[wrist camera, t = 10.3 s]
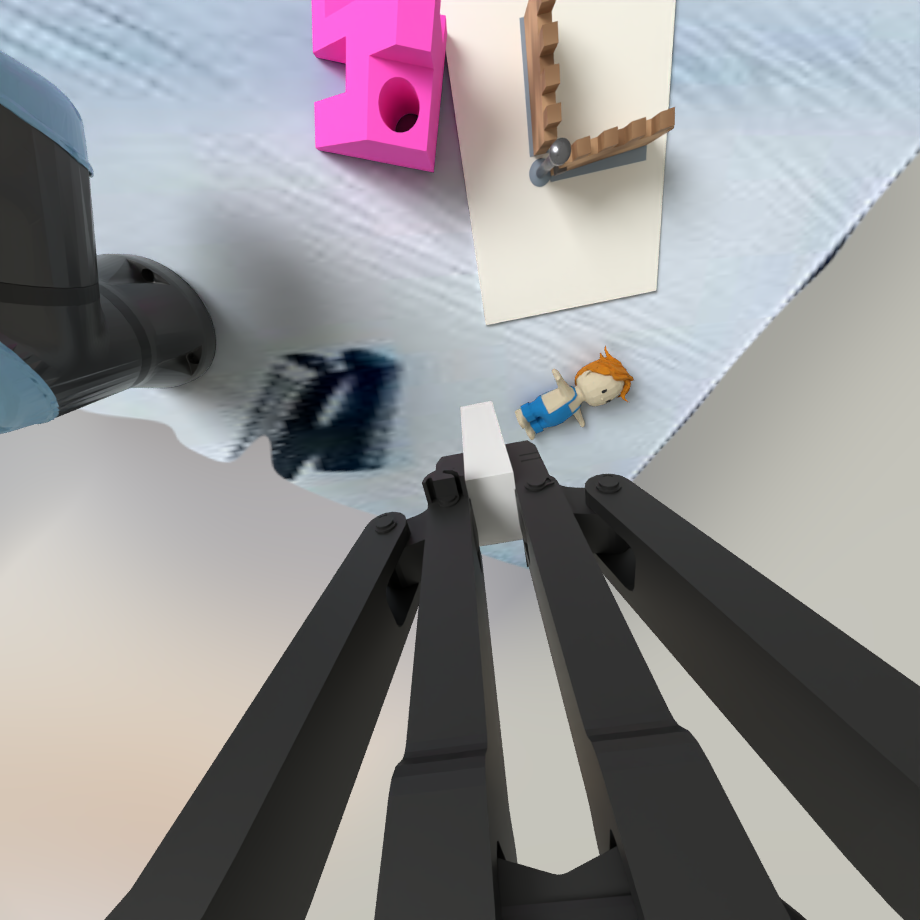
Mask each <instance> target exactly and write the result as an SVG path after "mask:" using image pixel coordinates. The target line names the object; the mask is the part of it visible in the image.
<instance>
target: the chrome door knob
mask: <svg viewBox="0 0 920 920" xmlns="http://www.w3.org/2000/svg"><path fill="white" fill-rule="evenodd" d="M570 155H571V144H570V142H569V141H568V140H567V139H566V138H558V139H557V140H555V141H554V143H553V144H552V145H551V147H550V150H549V156H548V157H547V158H546V159H545V161H544V162H543V163H542V164H541V165H540V166H539V167H538V169H537V170H536V176H537V177H538V178H540V179H541V178H543V177H544V176H545V175H546V174H547V173H548V172H549V171H550V170H551V169H552V168H553V167H554V166H561V165H563V164H564V163H565V162H566V161H567V160H568V159H569V157H570Z"/></svg>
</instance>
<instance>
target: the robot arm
mask: <svg viewBox="0 0 920 920" xmlns="http://www.w3.org/2000/svg"><path fill="white" fill-rule="evenodd" d="M93 175H94V174H93V169H92V167H91V165H90V164H89V162H88V155H87V148H86V140H85V133H84V126H83V122H82V119H81V117H80V114H79V112H78V111H77V109H76V108H75V107H74V105H73V104H72V103H71V101H70V100H69V99H68V98H67V96H66V95H64V94H63V93H62V92H61V91H60V90H59V89H58V88H57V87H56V86H55V85H53V84H52V83H51V82H49V81H48V80H47V79H45V78H44V77H42V76H41V75H39V74H38V73H36V72H35V71H33V70H32V69H30V68H28V67H27V66H25V65H24V64H22V63H20V62H19V61H17V60H15V59H14V58H12V57H10V56H9V55H7V54H5V53H4V52H2V51H0V434H2V433H7V432H11V431H14V430H17V429H20V428H23V427H27V426H30V425H34V424H41V423H46V422H49V421H51V420H54V418H56V417H59V416H61V415H64V414H66V413H69V412H71V411H74V410H76V409H79V408H81V407H84V406H86V405H89V404H91V403H94V402H96V401H99V400H101V399H104V398H106V397H109V396H111V395H114V394H116V393H119V392H121V391H124V390H126V389H129V388H170V387H176V386H180V385H183V384H185V383H187V382H190V381H192V380H194V379H196V378H198V377H199V376H201V375H202V374H203V373H204V372H205V371H206V370H207V369H208V368H209V366H210V364H211V362H212V360H213V357H214V354H215V346H216V340H215V332H214V328H213V324H212V321H211V318H210V316H209V314H208V312H207V310H206V308H205V306H204V304H203V303H202V301H201V300H200V298H199V297H198V296H197V294H196V293H195V292H194V291H193V289H192V288H191V287H190V286H189V285H188V284H187V283H186V282H185V281H184V280H183V279H181V278H180V277H179V276H178V275H177V274H175V273H174V272H173V271H171V270H170V269H168V268H166V267H165V266H163V265H161V264H159V263H157V262H155V261H153V260H150V259H148V258H144V257H141V256H136V255H128V254H103V255H97V256H96V245H95V234H94V222H93V211H92V200H91V189H90V178H89V177H93ZM460 409H461V425H462V440H463V453H461V454H456V455H450V456H445V457H441V459H440V460H439V461H438V463H437V464H436V471H434V472H432V473H430V474H428V475H427V476H426V477H425V478H424V480H423V482H422V485H423V488H424V492H425V495H426V498H427V502H428V509H427V510H426V511H424V512H423V513H421V514H419V515H417V516H415V517H412V518H410V519H407V520H406V517H405V515H403V514H401V513H398V512H389V513H385V514H382V515H379V516H377V517H376V518H374V519H373V520H371V521H370V522H369V524H368V525H367V526H366V527H365V529H364V531H363V532H362V534H361V535H360V537H359V538H358V540H357V541H356V543H355V544H354V546H353V547H352V549H351V551H350V552H349V554H348V555H347V557H346V558H345V560H344V562H343V563H342V564H341V566H340V568H339V569H338V571H337V572H336V574H335V575H334V577H333V579H332V580H331V582H330V583H329V585H328V586H327V588H326V589H325V591H324V592H323V594H322V595H321V597H320V599H319V600H318V601H317V603H316V605H315V606H314V608H313V609H312V611H311V612H310V614H309V615H308V617H307V619H306V620H305V622H304V623H303V625H302V626H301V628H300V629H299V631H298V632H297V634H296V635H295V637H294V638H293V640H292V642H291V643H290V645H289V646H288V648H287V650H286V651H285V652H284V654H283V656H282V657H281V659H280V660H279V662H278V663H277V665H276V666H275V668H274V669H273V671H272V673H271V674H270V676H269V677H268V679H267V680H266V682H265V683H264V685H263V686H262V688H261V689H260V691H259V692H258V694H257V696H256V697H255V699H254V700H253V702H252V703H251V705H250V706H249V708H248V710H247V711H246V713H245V714H244V716H243V717H242V719H241V720H240V722H239V723H238V725H237V727H236V728H235V730H234V731H233V733H232V734H231V736H230V737H229V739H228V740H227V742H226V743H225V745H224V747H223V748H222V750H221V751H220V753H219V754H218V756H217V758H216V759H215V760H214V762H213V763H212V765H211V767H210V768H209V770H208V771H207V773H206V774H205V776H204V777H203V779H202V781H201V782H200V784H199V785H198V787H197V788H196V790H195V791H194V793H193V794H192V796H191V798H190V799H189V801H188V802H187V804H186V805H185V807H184V808H183V810H182V811H181V813H180V814H179V816H178V817H177V819H176V821H175V822H174V824H173V825H172V827H171V828H170V830H169V831H168V833H167V834H166V836H165V838H164V839H163V841H162V842H161V844H160V845H159V847H158V848H157V850H156V851H155V853H154V855H153V856H152V858H151V859H150V861H149V862H148V864H147V866H146V867H145V868H144V870H143V872H142V873H141V875H140V876H139V878H138V879H137V881H136V882H135V884H134V885H133V887H132V888H131V890H130V891H129V892H128V893H127V895H126V896H125V897H124V898H123V899H122V900H121V902H120V903H119V904H118V905H117V906H116V907H115V908H114V909H113V910H112V912H111V913H110V914H109V915H108V916H107V917H106V919H105V920H305V918H306V915H307V912H308V910H309V908H310V905H311V902H312V899H313V897H314V893H315V891H316V888H317V885H318V883H319V880H320V877H321V874H322V872H323V869H324V866H325V863H326V861H327V858H328V855H329V852H330V850H331V847H332V844H333V841H334V838H335V836H336V833H337V830H338V827H339V824H340V822H341V819H342V816H343V813H344V811H345V808H346V805H347V802H348V799H349V797H350V794H351V791H352V788H353V786H354V783H355V780H356V778H357V775H358V772H359V769H360V766H361V764H362V761H363V758H364V755H365V753H366V750H367V747H368V744H369V742H370V739H371V736H372V733H373V731H374V728H375V725H376V722H377V719H378V717H379V714H380V711H381V708H382V706H383V703H384V700H385V697H386V695H387V692H388V689H389V686H390V683H391V680H392V678H393V675H394V672H395V670H396V666H397V664H398V661H399V658H400V656H401V653H402V650H403V647H404V644H405V642H406V639H407V636H408V634H409V631H410V628H411V625H412V623H413V620H414V617H415V614H416V611H417V609H418V606H419V610H418V620H417V632H416V642H415V653H414V664H413V675H412V685H411V696H410V707H409V719H408V730H407V740H406V748H405V754H404V757H403V759H402V760H401V762H400V763H398V765H397V766H396V767H395V770H394V773H393V776H392V779H391V785H390V791H389V797H388V806H387V815H386V823H385V832H384V841H383V849H382V858H381V866H380V875H379V884H378V892H377V901H376V909H375V919H374V920H806V919H805V918H804V917H803V916H802V915H801V914H800V913H798V912H797V911H796V910H795V909H793V908H792V907H791V906H790V905H788V904H787V903H786V902H785V901H783V900H782V899H781V898H780V897H779V895H778V894H777V892H776V890H775V888H774V886H773V884H772V882H771V880H770V878H769V876H768V875H767V872H766V871H765V869H764V867H763V865H762V863H761V861H760V859H759V857H758V855H757V853H756V851H755V849H754V847H753V845H752V843H751V841H750V840H749V838H748V836H747V834H746V832H745V830H744V828H743V826H742V824H741V822H740V820H739V818H738V816H737V814H736V812H735V811H734V809H733V807H732V805H731V803H730V801H729V799H728V797H727V795H726V793H725V791H724V789H723V788H722V785H721V783H720V781H719V780H718V778H717V776H716V774H715V772H714V770H713V768H712V766H711V764H710V762H709V760H708V759H707V757H706V755H705V753H704V752H703V750H702V748H701V747H700V745H699V743H698V742H697V740H696V739H695V738H694V737H693V735H692V734H691V733H690V732H689V731H688V730H686V729H684V728H683V727H681V726H679V725H678V724H677V722H676V721H675V720H674V719H673V716H672V715H671V713H670V711H669V709H668V707H667V705H666V703H665V701H664V699H663V697H662V695H661V693H660V691H659V689H658V686H657V685H656V682H655V680H654V678H653V676H652V674H651V672H650V670H649V668H648V666H647V664H646V662H645V660H644V658H643V656H642V654H641V652H640V650H639V647H638V645H637V643H636V641H635V639H634V637H633V635H632V633H631V631H630V629H629V627H628V625H627V623H626V621H625V619H624V617H623V615H622V613H621V611H620V608H619V606H618V604H617V602H616V600H615V598H614V596H613V594H612V592H611V590H610V588H609V586H608V584H607V582H606V580H605V578H604V576H605V577H606V578H607V579H608V580H609V581H610V583H611V584H612V585H613V586H614V587H615V588H616V590H617V591H618V592H619V593H620V594H621V595H622V596H623V598H624V599H625V600H626V601H627V602H628V604H629V605H630V606H631V607H632V608H633V609H634V611H635V612H636V613H637V614H638V615H639V616H640V618H641V619H642V620H643V621H644V622H645V623H646V624H647V626H648V627H649V628H650V629H651V630H652V632H653V633H654V634H655V635H656V636H657V637H658V638H659V640H660V641H661V642H662V643H663V644H664V645H665V647H666V648H667V649H668V650H669V651H670V653H672V655H673V656H674V657H675V658H676V660H677V661H678V662H679V663H680V664H681V665H682V667H683V668H684V669H685V670H686V671H687V672H688V674H689V675H690V676H691V677H692V678H693V679H694V681H695V682H696V683H697V684H698V685H699V686H700V688H701V689H702V690H703V691H704V692H705V693H706V695H707V696H708V697H709V698H710V699H711V700H712V702H713V703H714V704H715V705H716V706H717V707H718V708H719V710H720V711H721V712H722V713H723V714H724V716H725V717H726V718H727V719H728V720H729V721H730V722H731V724H732V725H733V726H734V727H735V728H736V730H737V731H738V732H739V733H740V734H741V735H742V737H743V738H744V739H745V740H746V741H747V742H748V743H749V745H750V746H751V747H752V748H753V749H754V751H755V752H756V753H757V754H758V755H759V756H760V758H761V759H762V760H763V761H764V762H765V763H766V764H767V766H768V767H769V768H770V769H771V770H772V772H773V773H774V774H775V775H776V776H777V777H778V779H779V780H780V781H781V782H782V783H783V784H784V786H786V788H787V789H788V790H789V791H790V793H791V794H792V795H793V796H794V797H795V798H796V800H797V801H798V802H799V803H800V804H801V805H802V807H803V808H804V809H805V810H806V811H807V812H808V813H809V815H810V816H811V817H812V818H813V819H814V821H815V822H816V823H817V824H818V825H819V827H820V828H821V829H822V830H823V831H824V832H825V833H826V835H827V836H828V837H829V838H830V839H831V841H832V842H833V843H834V844H835V845H836V846H837V847H838V849H839V850H840V851H841V852H842V853H843V855H844V856H845V857H846V858H847V859H848V860H849V861H850V862H851V863H852V865H853V866H854V867H855V868H856V869H857V870H858V871H859V872H860V873H861V874H862V876H863V877H864V878H865V879H866V880H867V881H868V882H869V883H870V884H871V885H872V887H873V888H874V889H875V890H876V891H877V892H878V893H879V894H880V895H881V896H882V898H883V899H884V900H885V901H886V902H887V903H888V904H889V905H890V906H891V907H892V908H893V909H894V910H895V911H896V912H897V913H898V914H899V915H900V916H901V917H902V918H903V919H904V920H920V686H918V685H917V684H916V683H914V682H913V681H911V680H910V679H909V678H907V677H906V676H905V675H903V674H902V673H900V672H898V671H897V670H896V669H895V668H893V667H892V666H890V665H889V664H887V663H886V662H885V661H883V660H882V659H881V658H879V657H878V656H876V655H875V654H873V653H872V652H871V651H869V650H868V649H867V648H865V647H864V646H862V645H861V644H859V643H858V642H857V641H855V640H854V639H852V638H851V637H849V636H848V635H847V634H845V633H844V632H843V631H841V630H840V629H838V628H837V627H835V626H834V625H833V624H831V623H830V622H829V621H827V620H826V619H824V618H823V617H821V616H820V615H819V614H817V613H816V612H814V611H813V610H812V609H810V608H809V607H807V606H806V605H805V604H803V603H802V602H800V601H799V600H797V599H796V598H795V597H793V596H792V595H790V594H789V593H788V592H786V591H785V590H783V589H782V588H780V587H779V586H778V585H776V584H775V583H774V582H772V581H771V580H769V579H768V578H767V577H765V576H764V575H762V574H761V573H759V572H758V571H757V570H755V569H754V568H752V567H751V566H750V565H748V564H747V563H745V562H744V561H743V560H741V559H740V558H738V557H737V556H736V555H734V554H733V553H731V552H730V551H728V550H727V549H726V548H724V547H723V546H721V545H720V544H719V543H717V542H716V541H714V540H713V539H712V538H710V537H709V536H707V535H706V534H705V533H703V532H702V531H700V530H699V529H697V528H696V527H695V526H693V525H692V524H690V523H689V522H688V521H686V520H685V519H683V518H682V517H681V516H679V515H678V514H676V513H675V512H674V511H672V510H671V509H669V508H668V507H667V506H665V505H664V504H662V503H661V502H659V501H658V500H657V499H655V498H654V497H653V496H651V495H650V494H648V493H647V492H645V491H644V490H643V489H641V488H640V487H638V486H637V485H636V484H634V483H633V482H631V481H630V480H629V479H627V478H625V477H623V476H619V475H615V474H601V475H596V476H594V477H592V478H590V479H588V481H587V482H586V483H585V488H573V487H565V486H561V485H559V483H558V481H557V480H556V479H555V478H554V477H552V476H550V475H549V473H548V471H547V469H546V467H545V465H544V463H543V461H542V458H541V456H540V454H539V453H538V450H537V448H536V446H535V445H534V444H533V443H531V442H529V441H528V440H527V441H521V442H516V443H510V444H505V443H504V440H503V436H502V433H501V430H500V426H499V423H498V420H497V416H496V413H495V410H494V406H493V403H492V401H488V402H483V403H477V404H472V405H467V406H462V407H460ZM522 536H523V537H522ZM522 539H523V542H524V549H525V556H526V562H527V567H529V569H530V573H531V576H532V581H533V585H534V588H535V592H536V596H537V600H538V604H539V608H540V612H541V616H542V620H543V624H544V628H545V632H546V636H547V640H548V644H549V647H550V652H551V656H552V659H553V663H554V667H555V671H556V675H557V679H558V683H559V687H560V691H561V695H562V699H563V703H564V706H565V711H566V714H567V718H568V722H569V726H570V730H571V734H572V738H573V742H574V746H575V750H576V754H577V758H578V762H579V766H580V770H581V773H582V777H583V781H584V785H585V789H586V793H587V797H588V802H589V806H590V811H591V815H592V821H593V826H594V831H595V836H596V841H597V845H598V849H599V854H600V855H599V856H598V857H596V858H594V859H592V860H590V861H588V862H586V863H584V864H583V865H581V866H579V867H577V868H575V869H573V870H571V871H569V872H568V873H565V874H562V875H556V874H551V873H548V872H545V871H541V870H537V869H534V868H531V867H527V866H524V865H520V864H517V857H516V849H515V842H514V836H513V831H512V824H511V818H510V812H509V803H508V795H507V785H506V777H505V767H504V757H503V748H502V739H501V730H500V721H499V711H498V702H497V693H496V684H495V675H494V666H493V656H492V647H491V638H490V629H489V619H488V610H487V601H486V592H485V582H484V573H483V564H482V556H481V552H480V547H479V545H480V546H485V545H492V544H498V543H504V542H510V541H516V540H522ZM602 573H603V574H604V576H603V574H602Z"/></svg>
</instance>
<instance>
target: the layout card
mask: <svg viewBox="0 0 920 920" xmlns="http://www.w3.org/2000/svg"><path fill="white" fill-rule="evenodd" d="M528 1H529V0H441V7H440V14H441V15H445V16H446V24H447V41H446V57H447V63H448V70H449V77H450V84H451V91H452V97H453V104H454V111H455V118H456V125H457V132H458V138H459V145H460V152H461V159H462V166H463V172H464V179H465V186H466V193H467V200H468V206H469V213H470V220H471V227H472V234H473V240H474V247H475V254H476V261H477V268H478V275H479V281H480V288H481V295H482V302H483V309H484V315H485V322H486V325H489V324H494V323H499V322H504V321H509V320H514V319H519V318H524V317H529V316H534V315H539V314H544V313H548V312H553V311H558V310H563V309H568V308H573V307H578V306H583V305H588V304H593V303H598V302H603V301H608V300H612V299H617V298H622V297H627V296H632V295H637V294H642V293H647V292H652V291H656V287H657V272H658V257H659V242H660V227H661V212H662V197H663V182H664V167H665V152H666V137H667V133H665V134H664V135H662V136H661V137H659V138H657V139H656V140H654V141H653V142H651V143H649V144H648V145H645V146H642V147H639V148H636V149H633V150H630V151H627V152H624V153H621V154H617V155H614V156H611V157H608V158H605V159H602V160H599V161H596V162H593V163H590V164H587V165H584V166H581V167H578V168H575V169H572V170H568V171H566V172H565V173H563V174H560V175H556V176H554V175H553V176H551V171H549V172H548V173H547V174H546V175H545V176H544V177H543V178H541V179H540V178H538V177H537V176H536V170H537V169H538V167H539V166H540V165H541V164H542V163H543V162H544V161H545V159H546V158H547V157H548V156H549V150H550V148H549V149H548V151H547V152H546V153H545V154H540V155H536V156H534V153H533V139H532V124H531V110H530V96H529V82H528V68H527V54H526V40H525V26H524V15H525V11H526V8H527V4H528ZM675 3H676V0H556V2H555V4H554V7H553V10H552V22H555V21H558V39H559V43H558V45H557V47H556V49H555V51H554V64H558V63H559V64H560V84H559V86H558V88H557V89H556V91H555V94H556V103H560V102H561V114H562V121H561V122H560V124H559V125H558V126H557V139H558V138H566V139H567V140H568V141H569V142H570V144H571V145H572V144H573V143H574V142H575V141H576V140H578V139H581V138H584V137H587V136H590V139H592V138H595V137H598V136H599V135H600V134H601V133H602V132H603V131H605V130H608V129H611V128H614V127H617V126H618V130H619V129H622V128H624V127H626V126H627V125H628V124H629V123H631V122H632V121H635V120H638V119H641V118H644V117H646V120H649V119H651V118H653V117H654V116H656V115H657V114H658V113H660V112H662V111H665V110H668V107H669V92H670V77H671V63H672V48H673V33H674V18H675Z"/></svg>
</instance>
